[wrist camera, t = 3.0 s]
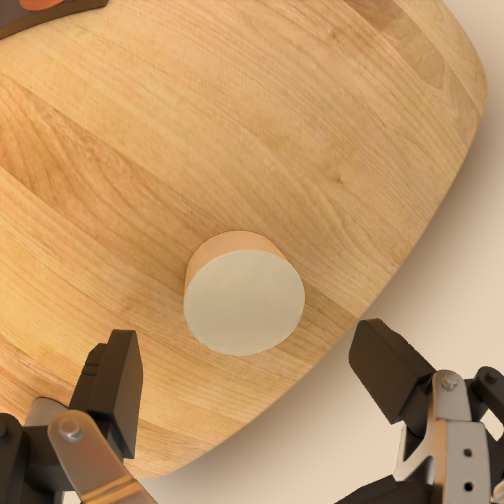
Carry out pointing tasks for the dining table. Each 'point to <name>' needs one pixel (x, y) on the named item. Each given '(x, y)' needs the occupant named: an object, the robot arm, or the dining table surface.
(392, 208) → the dining table surface
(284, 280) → the white short cylinder
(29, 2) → the board
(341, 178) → the dining table surface
